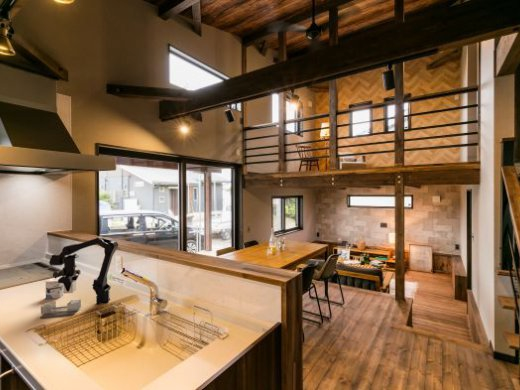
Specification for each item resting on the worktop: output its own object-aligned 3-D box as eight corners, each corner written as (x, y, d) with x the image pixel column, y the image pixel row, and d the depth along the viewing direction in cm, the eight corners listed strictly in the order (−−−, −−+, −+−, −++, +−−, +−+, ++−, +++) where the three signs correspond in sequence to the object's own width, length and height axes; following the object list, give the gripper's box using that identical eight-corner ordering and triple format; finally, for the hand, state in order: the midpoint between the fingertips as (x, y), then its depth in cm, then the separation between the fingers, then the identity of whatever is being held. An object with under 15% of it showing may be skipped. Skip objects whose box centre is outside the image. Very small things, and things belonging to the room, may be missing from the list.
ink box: (45, 299, 179) (45, 281, 179) (48, 296, 184) (48, 279, 183) (60, 297, 181) (60, 280, 181) (63, 295, 186) (63, 278, 186)
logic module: (76, 289, 175) (76, 279, 175) (72, 292, 169) (72, 282, 169) (67, 290, 174) (67, 280, 174) (63, 293, 168) (63, 283, 168)
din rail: (82, 306, 168) (82, 297, 167) (75, 314, 156) (74, 304, 156) (48, 309, 163) (48, 300, 163) (38, 319, 151) (37, 308, 151)
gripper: (61, 262, 178) (61, 285, 179) (47, 270, 160) (47, 296, 161) (80, 261, 181) (81, 284, 182) (69, 268, 163) (69, 294, 164)
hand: (70, 289), depth 172 cm, fingers closed on logic module, 6 cm apart
